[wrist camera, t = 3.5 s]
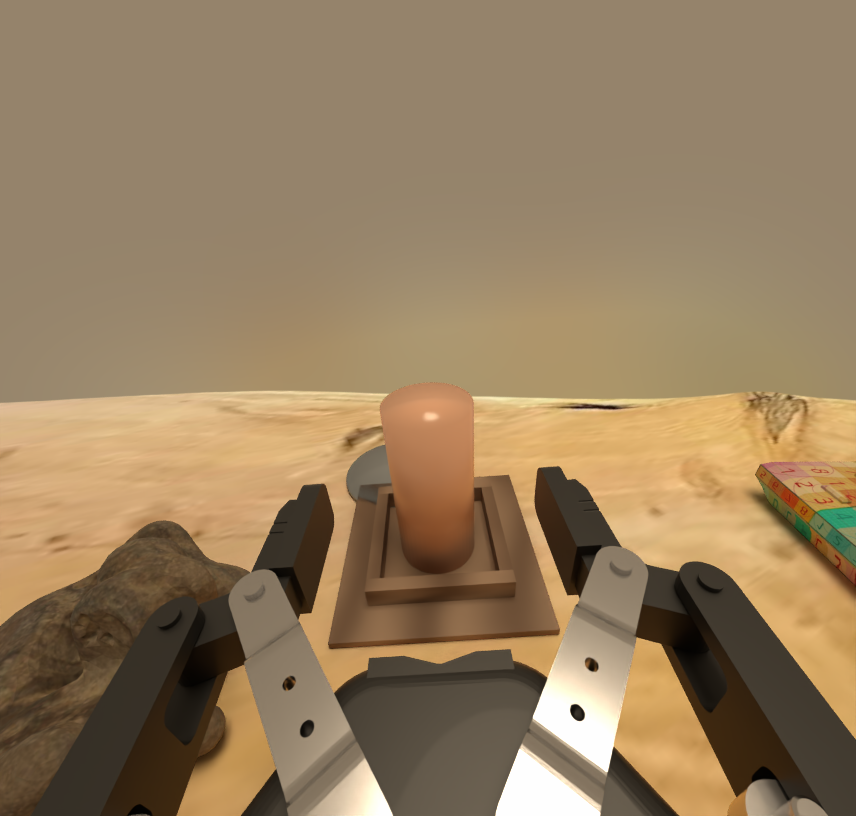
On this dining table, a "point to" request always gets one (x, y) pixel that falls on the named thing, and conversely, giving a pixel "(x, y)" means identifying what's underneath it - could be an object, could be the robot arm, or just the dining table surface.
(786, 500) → the puzzle game
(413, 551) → the peach orange tall mug
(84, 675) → the decorative stone
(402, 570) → the holder
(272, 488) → the dining table surface
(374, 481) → the grey disc
